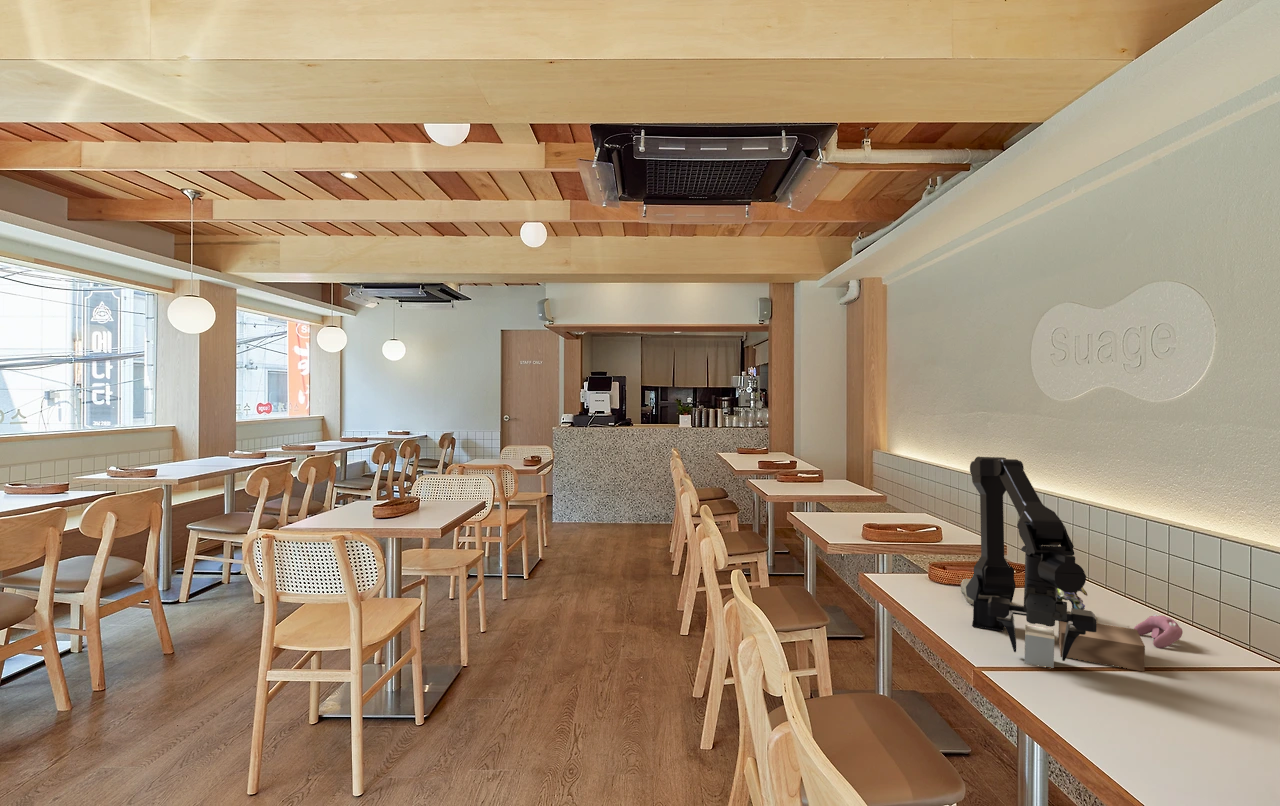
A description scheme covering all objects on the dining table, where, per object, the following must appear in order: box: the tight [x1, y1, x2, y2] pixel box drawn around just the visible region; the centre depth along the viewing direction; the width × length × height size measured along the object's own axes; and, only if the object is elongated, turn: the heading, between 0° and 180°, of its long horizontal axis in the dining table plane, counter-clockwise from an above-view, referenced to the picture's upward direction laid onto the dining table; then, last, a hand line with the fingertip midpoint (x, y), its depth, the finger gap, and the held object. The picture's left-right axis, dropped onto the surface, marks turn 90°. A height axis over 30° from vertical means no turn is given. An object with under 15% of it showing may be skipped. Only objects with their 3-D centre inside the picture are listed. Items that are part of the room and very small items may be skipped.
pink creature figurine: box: [1133, 613, 1183, 649], centre depth 151 cm, size 10×5×7 cm, turn 169°
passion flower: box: [1057, 586, 1088, 610], centre depth 170 cm, size 11×11×12 cm
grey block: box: [1024, 624, 1055, 669], centre depth 137 cm, size 5×5×6 cm
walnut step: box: [1057, 621, 1146, 673], centre depth 142 cm, size 14×12×5 cm
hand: (1038, 656), depth 137 cm, fingers open, 8 cm apart
